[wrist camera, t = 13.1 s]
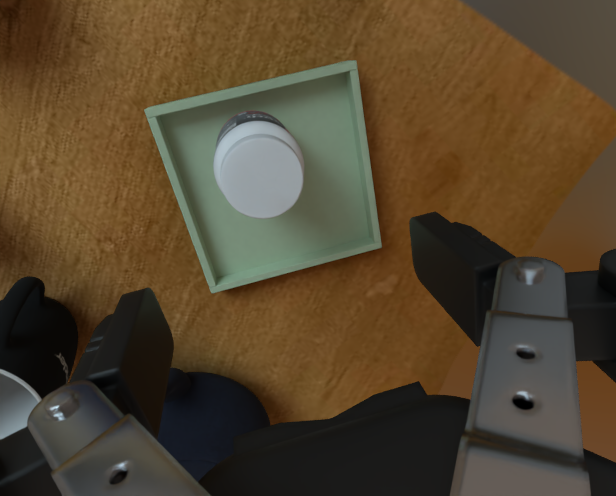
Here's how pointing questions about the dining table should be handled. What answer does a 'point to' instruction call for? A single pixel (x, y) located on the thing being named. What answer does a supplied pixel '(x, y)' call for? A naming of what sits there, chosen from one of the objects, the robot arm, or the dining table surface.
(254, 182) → the pill bottle
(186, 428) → the teapot
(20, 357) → the mug
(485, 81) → the dining table surface
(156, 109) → the tray
